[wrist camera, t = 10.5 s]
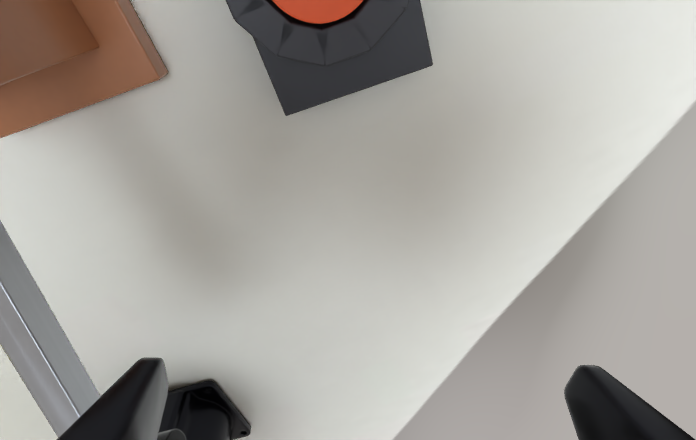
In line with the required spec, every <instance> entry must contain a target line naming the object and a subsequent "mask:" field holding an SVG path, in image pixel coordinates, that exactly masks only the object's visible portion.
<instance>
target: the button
mask: <svg viewBox="0 0 696 440" xmlns="http://www.w3.org/2000/svg"><path fill="white" fill-rule="evenodd" d="M272 1H273V2H274V3H275V4H276V5H277V6H278V7H279V8H280V9H281V10H283V11H284V12H285V13H287V14H288V15H290V16H291V17H294V18H296V19H298V20H301V21H304V22H308V23H316V24H322V23H329V22H333V21H336V20H339V19H341V18H343V17H345V16H347V15H348V14H350V13H351V12H352V11H353V10H355V9H356V8H357V7H358V6H359V5H360V4H361V3H362V1H363V0H272Z"/></svg>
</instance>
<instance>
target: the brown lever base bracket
mask: <svg viewBox="0 0 696 440" xmlns="http://www.w3.org/2000/svg"><path fill="white" fill-rule="evenodd" d="M166 74H168V71H167V69H166V67H165V65H164V64H163V62H162V60H161V58H160V56H159V54H158V52H157V51H156V49H155V47H154V45H153V43H152V41H151V40H150V38H149V36H148V34H147V32H146V30H145V29H144V27H143V25H142V23H141V21H140V19H139V18H138V16H137V14H136V12H135V10H134V8H133V7H132V5H131V3H130V1H129V0H0V138H3V137H6V136H8V135H11V134H14V133H16V132H19V131H22V130H24V129H27V128H30V127H33V126H35V125H38V124H41V123H43V122H46V121H49V120H52V119H54V118H57V117H60V116H62V115H65V114H68V113H70V112H73V111H76V110H79V109H81V108H84V107H87V106H89V105H92V104H95V103H98V102H100V101H103V100H106V99H108V98H111V97H114V96H116V95H119V94H122V93H125V92H127V91H130V90H133V89H135V88H138V87H141V86H144V85H146V84H149V83H152V82H154V81H157V80H160V79H161V78H162V77H164V76H165V75H166Z"/></svg>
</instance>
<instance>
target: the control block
mask: <svg viewBox="0 0 696 440" xmlns="http://www.w3.org/2000/svg"><path fill="white" fill-rule="evenodd" d="M226 2H227V4H228V6H229V9H230V11H231V13H232V16H233V18H234V19H235V21H236V22H237V23H238V24H239V25H240V26H242V27H243V28H244V29H245V30H246V31H247V32H248V33H250V34H251V35H252V36H253V38H254V41H255V43H256V46H257V48H258V50H259V53H260V55H261V58H262V60H263V62H264V65H265V67H266V70H267V72H268V74H269V77H270V79H271V82H272V84H273V86H274V89H275V91H276V94H277V96H278V98H279V101H280V103H281V106H282V108H283V111H284V113H285V115H286V116H288V115H290V114H293V113H296V112H299V111H302V110H305V109H308V108H311V107H314V106H317V105H319V104H322V103H325V102H328V101H331V100H334V99H337V98H340V97H343V96H345V95H348V94H351V93H354V92H357V91H360V90H363V89H366V88H369V87H372V86H374V85H377V84H380V83H383V82H386V81H389V80H392V79H395V78H398V77H400V76H403V75H406V74H409V73H412V72H415V71H418V70H421V69H424V68H427V67H429V66H432V65H433V63H432V58H431V53H430V48H429V43H428V38H427V33H426V28H425V23H424V18H423V13H422V8H421V3H420V0H363V1H362V3H361V4H360V5H359V6H358V7H357V8H356V9H355V10H353V11H352V12H351V13H350V14H348V15H347V16H345V17H343V18H341V19H339V20H336V21H333V22H329V23H322V24H316V23H308V22H304V21H301V20H298V19H296V18H294V17H291V16H290V15H288V14H287V13H285V12H284V11H283V10H281V9H280V8H279V7H278V6H277V5H276V4H275V3H274V2H273V1H272V0H226Z"/></svg>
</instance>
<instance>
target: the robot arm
mask: <svg viewBox="0 0 696 440" xmlns="http://www.w3.org/2000/svg"><path fill="white" fill-rule="evenodd" d="M564 394H565V399H566V403H567V406H568V409H569V412H570V415H571V417H572V421H573V424H574V427H575V429H576V433H577V436H578V439H579V440H695V439H694V438H692V437H691V436H690V435H689V434H687V433H686V432H685V431H683V430H682V429H681V428H679V427H678V426H677V425H675V424H674V423H673V422H672V421H670V420H669V419H668V418H666V417H665V416H664V415H662V414H661V413H660V412H659V411H657V410H656V409H654V408H653V407H652V406H651V405H649V404H648V403H647V402H645V401H644V400H643V399H642V398H640V397H639V396H638V395H636V394H635V393H634V392H632V391H631V390H630V389H628V388H627V387H626V386H624V385H623V384H622V383H621V382H619V381H618V380H617V379H615V378H614V377H613V376H612V375H610V374H609V373H608V372H606V371H605V370H603V369H602V368H601V367H599V366H595V365H580V366H578V367H577V368H576V370H575V371H574V373H573V375H572V376H571V378H570V380H569V381H568V383H567V385H566V387H565V390H564ZM172 429H179V430H181V431H182V432H183V433H184V435H185V437H186V440H234V439H237V438H241V437H245V436H248V435H249V434H250V431H251V426H250V425H249V424H248V423H247V421H246V420H245V419H244V418H243V416H242V415H241V414H240V413H239V411H238V410H237V409H236V408H235V406H234V405H233V404H232V403H231V401H230V400H229V399H228V398H227V396H226V395H225V394H224V393H223V392H222V390H221V389H220V388H219V387H218V385H217V384H216V383H215V382H212V381H205V382H202V383H198V384H194V385H191V386H187V387H184V388H180V389H176V390H173V391H169V392H168V379H167V374H166V369H165V364H164V361H163V359H161V358H141V359H139V360H138V361H137V362H136V363H135V364H134V365H133V366H132V367H131V368H130V369H129V370H128V371H127V372H126V373H125V374H124V375H122V376H121V377H120V378H119V379H118V380H117V381H116V382H115V383H114V384H113V385H112V386H111V387H110V388H109V389H108V390H107V391H106V392H105V393H104V394H103V395H102V396H101V397H100V398H99V399H98V400H97V401H96V402H95V403H94V404H93V405H92V406H91V407H90V408H89V409H88V410H87V411H85V412H84V413H83V414H82V415H81V416H80V417H79V418H78V419H77V420H76V421H75V422H74V423H73V424H72V425H71V426H70V427H69V428H68V429H67V430H66V431H65V432H64V433H63V434H62V435H61V436H60V437H59V438H58V439H57V440H157V437H158V433H161V432H164V431H168V430H172Z"/></svg>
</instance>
